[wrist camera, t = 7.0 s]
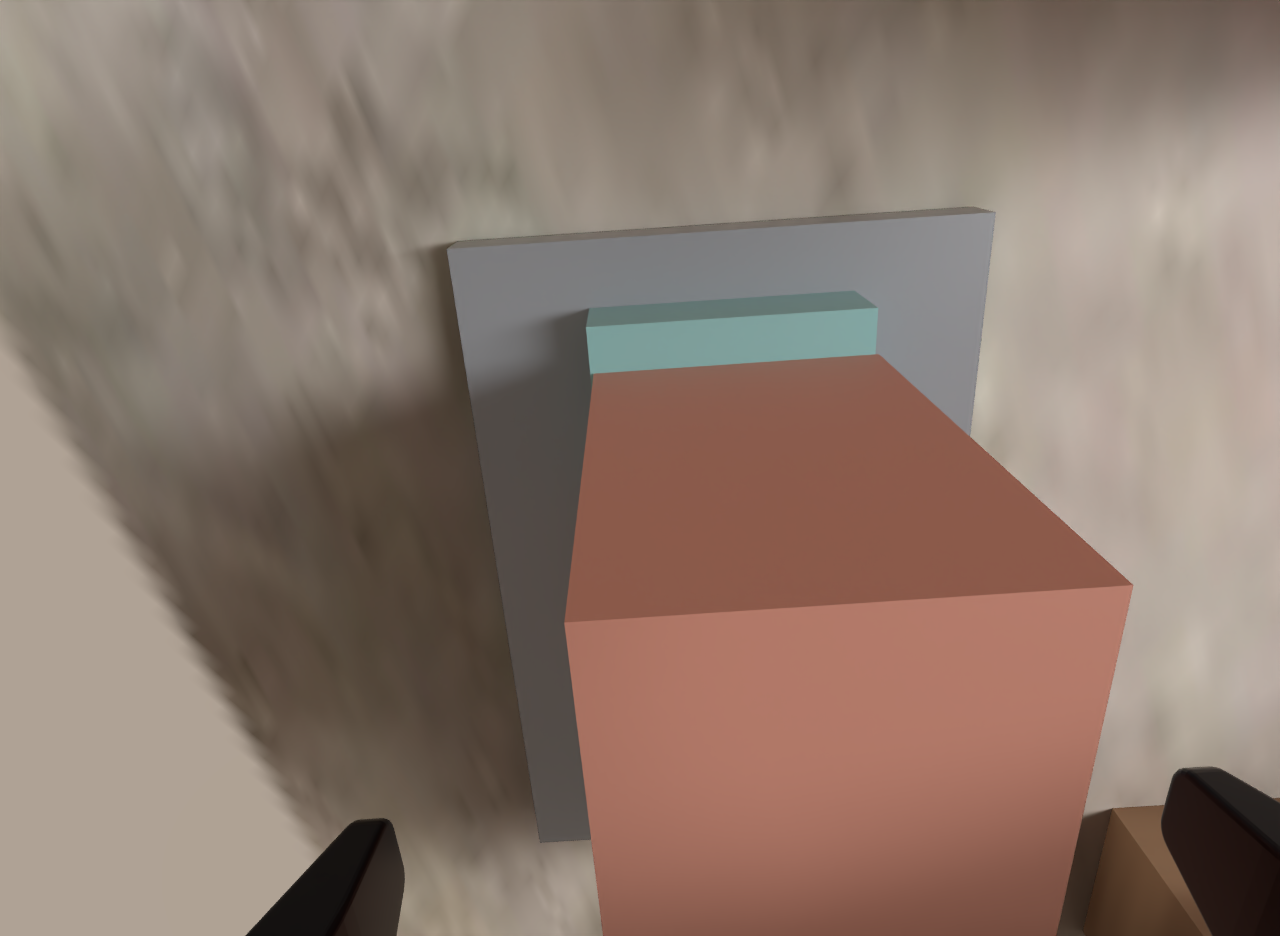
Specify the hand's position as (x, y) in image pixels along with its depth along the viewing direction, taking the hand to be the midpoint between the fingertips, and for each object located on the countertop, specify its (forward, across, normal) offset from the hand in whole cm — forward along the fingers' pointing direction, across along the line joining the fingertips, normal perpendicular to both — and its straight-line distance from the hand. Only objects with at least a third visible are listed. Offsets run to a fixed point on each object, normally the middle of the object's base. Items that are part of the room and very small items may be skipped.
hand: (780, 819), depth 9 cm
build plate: (+6, 0, 0) cm, 6 cm away
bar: (+4, 0, +1) cm, 4 cm away
